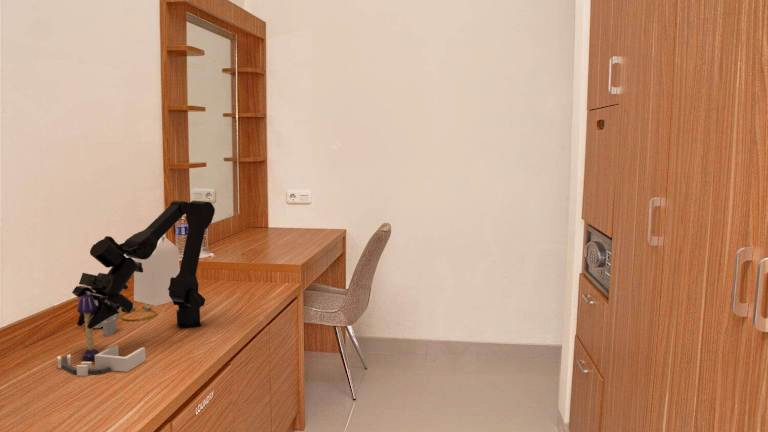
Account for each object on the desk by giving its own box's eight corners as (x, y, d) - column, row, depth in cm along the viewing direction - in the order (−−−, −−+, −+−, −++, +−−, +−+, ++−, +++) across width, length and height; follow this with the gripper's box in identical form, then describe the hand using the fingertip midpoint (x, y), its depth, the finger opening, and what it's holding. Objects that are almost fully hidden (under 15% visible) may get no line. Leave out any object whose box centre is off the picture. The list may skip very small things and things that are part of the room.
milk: (182, 298, 219) (180, 228, 215) (156, 305, 209) (153, 232, 206) (160, 293, 225) (157, 225, 221) (133, 300, 215) (130, 229, 212)
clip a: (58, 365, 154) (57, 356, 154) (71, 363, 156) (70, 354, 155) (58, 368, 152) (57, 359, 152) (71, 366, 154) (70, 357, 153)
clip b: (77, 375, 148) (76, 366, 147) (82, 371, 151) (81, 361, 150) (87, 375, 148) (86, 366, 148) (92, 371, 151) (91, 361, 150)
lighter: (108, 336, 177) (107, 310, 176) (103, 336, 177) (101, 309, 176) (122, 328, 184) (121, 303, 183) (117, 328, 184) (116, 303, 183)
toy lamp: (78, 360, 157) (74, 298, 154) (82, 354, 161) (78, 293, 159) (98, 358, 158) (95, 297, 155) (101, 352, 162) (98, 292, 160)
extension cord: (167, 309, 207) (167, 303, 206) (147, 323, 191) (147, 317, 191) (133, 308, 207) (133, 302, 207) (110, 322, 192) (109, 316, 191)
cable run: (65, 359, 158) (65, 355, 158) (111, 371, 151) (111, 367, 151) (45, 366, 153) (45, 362, 153) (92, 379, 146) (91, 375, 146)
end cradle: (115, 357, 160) (114, 344, 160) (145, 360, 158) (145, 347, 158) (95, 368, 152) (94, 355, 152) (127, 371, 151) (126, 358, 150)
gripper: (76, 256, 164) (39, 305, 156) (121, 264, 155) (84, 317, 147) (103, 278, 172) (70, 326, 164) (148, 287, 163) (114, 338, 155)
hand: (83, 326), depth 157 cm, fingers closed on toy lamp, 4 cm apart
